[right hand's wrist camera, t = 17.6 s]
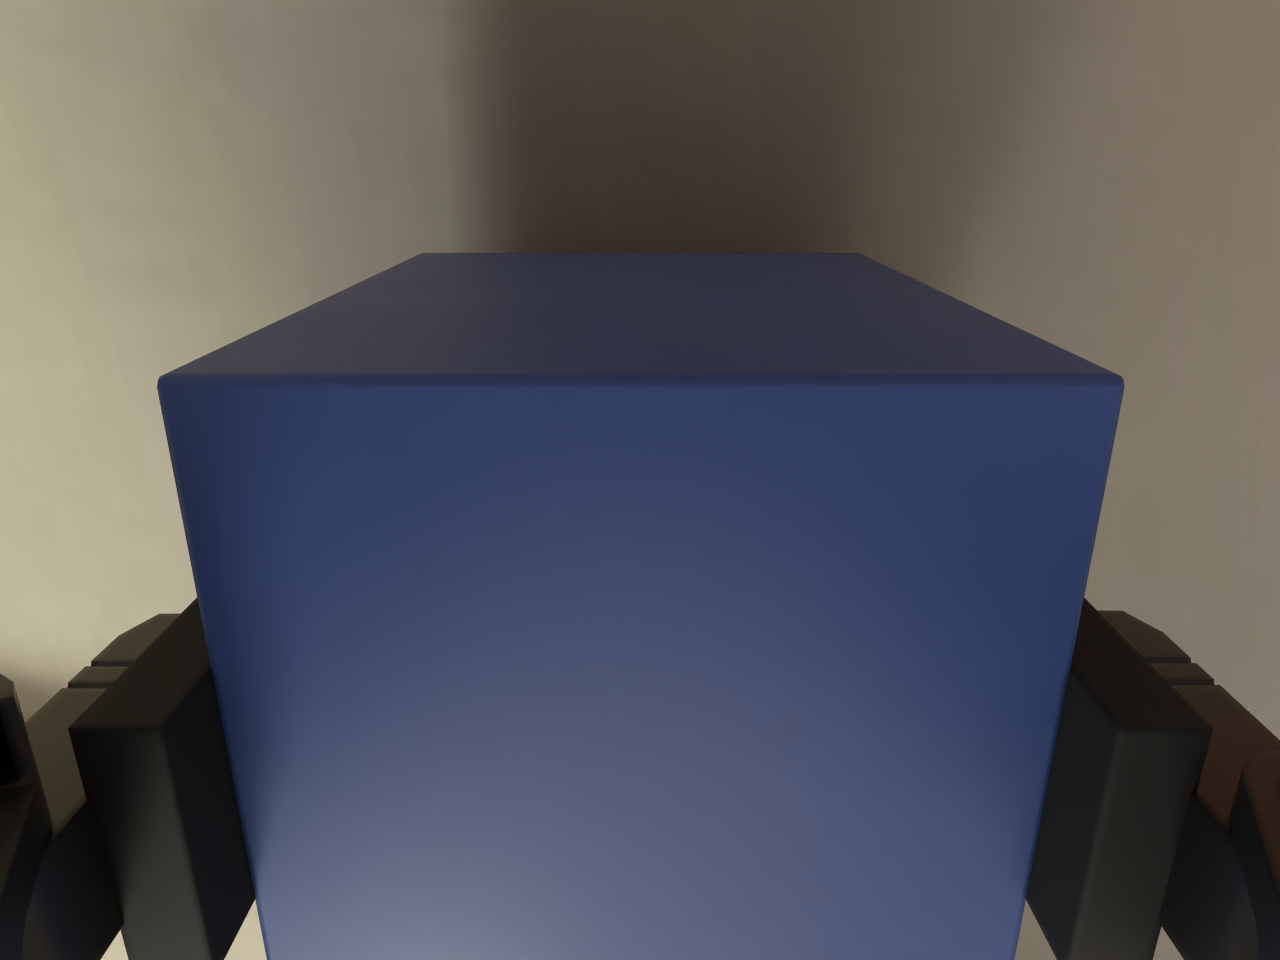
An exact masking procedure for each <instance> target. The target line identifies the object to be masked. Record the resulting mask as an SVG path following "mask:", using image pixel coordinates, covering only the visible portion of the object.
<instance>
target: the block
mask: <svg viewBox="0 0 1280 960" xmlns="http://www.w3.org/2000/svg"><path fill="white" fill-rule="evenodd" d="M157 389H158V394H159V399H160V404H161V410H162V415H163V420H164V425H165V430H166V436H167V441H168V446H169V451H170V456H171V462H172V467H173V472H174V477H175V483H176V488H177V493H178V498H179V503H180V509H181V514H182V519H183V524H184V529H185V535H186V540H187V545H188V550H189V555H190V561H191V566H192V571H193V576H194V582H195V587H196V592H197V597H198V602H199V608H200V613H201V618H202V623H203V628H204V634H205V639H206V644H207V649H208V654H209V660H210V665H211V670H212V675H213V681H214V686H215V691H216V696H217V701H218V707H219V712H220V717H221V722H222V727H223V733H224V738H225V743H226V748H227V753H228V759H229V764H230V769H231V774H232V780H233V785H234V790H235V795H236V800H237V806H238V811H239V816H240V821H241V826H242V832H243V837H244V842H245V847H246V852H247V858H248V863H249V868H250V873H251V879H252V884H253V889H254V894H255V899H256V905H257V910H258V915H259V920H260V925H261V931H262V936H263V941H264V946H265V951H266V957H267V960H1014V958H1015V952H1016V947H1017V942H1018V937H1019V932H1020V926H1021V921H1022V916H1023V911H1024V906H1025V900H1026V895H1027V890H1028V885H1029V880H1030V874H1031V869H1032V864H1033V859H1034V854H1035V848H1036V843H1037V838H1038V833H1039V828H1040V822H1041V817H1042V812H1043V807H1044V802H1045V796H1046V791H1047V786H1048V781H1049V776H1050V770H1051V765H1052V760H1053V755H1054V750H1055V744H1056V739H1057V734H1058V729H1059V724H1060V718H1061V713H1062V708H1063V703H1064V698H1065V693H1066V687H1067V682H1068V677H1069V672H1070V667H1071V661H1072V656H1073V651H1074V646H1075V641H1076V635H1077V630H1078V625H1079V620H1080V615H1081V609H1082V604H1083V599H1084V594H1085V589H1086V583H1087V578H1088V573H1089V568H1090V563H1091V557H1092V552H1093V547H1094V542H1095V537H1096V532H1097V526H1098V521H1099V516H1100V511H1101V506H1102V500H1103V495H1104V490H1105V485H1106V480H1107V474H1108V469H1109V464H1110V459H1111V454H1112V448H1113V443H1114V438H1115V433H1116V428H1117V422H1118V417H1119V412H1120V407H1121V402H1122V396H1123V391H1124V381H1123V378H1122V377H1121V376H1119V375H1117V374H1115V373H1113V372H1111V371H1109V370H1106V369H1104V368H1102V367H1100V366H1098V365H1096V364H1094V363H1092V362H1089V361H1087V360H1085V359H1083V358H1081V357H1079V356H1077V355H1074V354H1072V353H1070V352H1068V351H1066V350H1064V349H1062V348H1060V347H1057V346H1055V345H1053V344H1051V343H1049V342H1047V341H1045V340H1043V339H1040V338H1038V337H1036V336H1034V335H1032V334H1030V333H1028V332H1025V331H1023V330H1021V329H1019V328H1017V327H1015V326H1013V325H1011V324H1008V323H1006V322H1004V321H1002V320H1000V319H998V318H996V317H993V316H991V315H989V314H987V313H985V312H983V311H981V310H979V309H976V308H974V307H972V306H970V305H968V304H966V303H964V302H961V301H959V300H957V299H955V298H953V297H951V296H949V295H947V294H944V293H942V292H940V291H938V290H936V289H934V288H932V287H930V286H927V285H925V284H923V283H921V282H919V281H917V280H915V279H912V278H910V277H908V276H906V275H904V274H902V273H900V272H898V271H895V270H893V269H891V268H889V267H887V266H885V265H883V264H880V263H878V262H876V261H874V260H872V259H870V258H868V257H866V256H863V255H861V254H859V253H422V254H419V255H417V256H415V257H413V258H411V259H409V260H407V261H405V262H402V263H400V264H398V265H396V266H394V267H392V268H390V269H388V270H385V271H383V272H381V273H379V274H377V275H375V276H373V277H371V278H368V279H366V280H364V281H362V282H360V283H358V284H356V285H354V286H351V287H349V288H347V289H345V290H343V291H341V292H339V293H337V294H334V295H332V296H330V297H328V298H326V299H324V300H322V301H320V302H317V303H315V304H313V305H311V306H309V307H307V308H305V309H303V310H300V311H298V312H296V313H294V314H292V315H290V316H288V317H286V318H283V319H281V320H279V321H277V322H275V323H273V324H271V325H269V326H266V327H264V328H262V329H260V330H258V331H256V332H254V333H252V334H249V335H247V336H245V337H243V338H241V339H239V340H237V341H235V342H232V343H230V344H228V345H226V346H224V347H222V348H220V349H218V350H215V351H213V352H211V353H209V354H207V355H205V356H203V357H201V358H198V359H196V360H194V361H192V362H190V363H188V364H186V365H184V366H181V367H179V368H177V369H175V370H173V371H171V372H169V373H167V374H164V375H162V376H160V377H159V379H158V385H157Z"/></svg>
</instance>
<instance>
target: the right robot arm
mask: <svg viewBox="0 0 1280 960" xmlns="http://www.w3.org/2000/svg"><path fill="white" fill-rule="evenodd" d="M254 900H255V894H254V889H253V884H252V879H251V873H250V868H249V863H248V858H247V852H246V847H245V842H244V837H243V832H242V826H241V821H240V816H239V811H238V806H237V800H236V795H235V790H234V785H233V780H232V774H231V769H230V764H229V759H228V753H227V748H226V743H225V738H224V733H223V727H222V722H221V717H220V712H219V707H218V701H217V696H216V691H215V686H214V681H213V675H212V670H211V665H210V660H209V654H208V649H207V644H206V639H205V634H204V628H203V623H202V618H201V613H200V608H199V602H198V597H197V598H196V599H195V600H194V601H193V602H192V603H191V604H190V605H189V606H188V607H187V608H186V609H185V610H184V611H183V612H182V613H181V614H158V615H156V616H154V617H153V618H151V619H149V620H147V621H145V622H143V623H141V624H140V625H138V626H136V627H134V628H132V629H130V630H128V631H127V632H125V633H123V634H121V635H119V636H118V637H117V638H116V639H115V640H114V641H113V642H112V643H110V644H109V645H108V646H107V647H106V648H105V649H104V650H103V651H102V652H101V653H100V654H99V655H98V656H96V657H95V658H94V659H93V660H92V661H91V666H86V667H85V668H84V669H83V670H81V671H80V672H79V673H78V674H77V675H76V676H75V677H74V678H73V679H72V680H71V681H70V682H69V683H68V688H62V689H61V690H60V691H59V692H58V693H57V694H56V695H55V696H54V697H52V698H51V699H50V700H49V701H48V702H47V703H46V704H45V705H44V706H43V707H42V708H41V709H40V710H39V711H37V712H36V713H35V714H34V715H33V716H32V717H31V718H30V719H29V720H28V721H27V722H26V723H24V719H23V716H22V712H21V709H20V705H19V701H18V698H17V694H16V691H15V687H14V684H13V682H12V681H11V680H9V679H8V678H6V677H4V676H3V675H1V674H0V960H100V959H101V958H102V956H103V955H104V953H105V952H106V950H107V949H108V947H109V946H110V944H111V943H112V941H113V940H114V938H115V937H116V935H117V934H118V932H119V931H120V929H121V933H122V936H123V940H124V944H125V948H126V952H127V955H128V959H129V960H224V958H225V956H226V955H227V953H228V951H229V949H230V947H231V945H232V943H233V941H234V939H235V937H236V935H237V933H238V931H239V929H240V927H241V925H242V923H243V921H244V920H245V918H246V916H247V914H248V912H249V910H250V908H251V906H252V904H253V902H254ZM1026 900H1027V902H1028V904H1029V906H1030V908H1031V910H1032V912H1033V914H1034V916H1035V918H1036V920H1037V921H1038V923H1039V925H1040V927H1041V929H1042V931H1043V933H1044V935H1045V937H1046V939H1047V941H1048V943H1049V945H1050V947H1051V949H1052V951H1053V953H1054V955H1055V956H1056V958H1057V960H1153V956H1154V952H1155V948H1156V945H1157V941H1158V937H1159V933H1160V929H1161V926H1162V927H1163V929H1164V930H1165V932H1166V933H1167V935H1168V936H1169V938H1170V939H1171V941H1172V942H1173V944H1174V945H1175V947H1176V948H1177V950H1178V951H1179V953H1180V954H1181V956H1182V957H1183V959H1184V960H1280V740H1279V739H1278V738H1277V737H1276V736H1274V735H1273V734H1272V733H1271V732H1270V731H1269V730H1268V729H1267V728H1266V727H1265V726H1264V725H1263V724H1261V723H1260V722H1259V721H1258V720H1257V719H1256V718H1255V717H1254V716H1253V715H1252V714H1251V713H1250V712H1248V711H1247V710H1246V709H1245V708H1244V707H1243V706H1242V705H1241V704H1240V703H1239V702H1238V701H1237V700H1235V699H1234V698H1233V697H1232V696H1231V695H1230V694H1229V693H1228V692H1227V691H1226V690H1225V689H1224V688H1222V687H1221V686H1220V685H1214V679H1213V678H1212V677H1211V676H1209V675H1208V674H1207V673H1206V672H1205V671H1204V670H1203V669H1202V668H1201V667H1200V666H1199V665H1198V664H1196V663H1191V658H1190V657H1189V656H1188V655H1187V654H1186V653H1185V652H1183V651H1182V650H1181V649H1180V648H1179V647H1178V646H1177V645H1176V644H1175V643H1174V642H1173V641H1172V640H1170V639H1169V638H1168V637H1167V636H1166V635H1165V634H1164V633H1163V632H1161V631H1159V630H1157V629H1155V628H1153V627H1152V626H1150V625H1148V624H1146V623H1144V622H1142V621H1140V620H1138V619H1137V618H1135V617H1133V616H1131V615H1129V614H1127V613H1125V612H1123V611H1097V610H1096V609H1095V608H1094V607H1093V606H1092V605H1091V604H1090V603H1089V602H1088V601H1087V600H1086V599H1085V598H1084V599H1083V604H1082V609H1081V615H1080V620H1079V625H1078V630H1077V635H1076V641H1075V646H1074V651H1073V656H1072V661H1071V667H1070V672H1069V677H1068V682H1067V687H1066V693H1065V698H1064V703H1063V708H1062V713H1061V718H1060V724H1059V729H1058V734H1057V739H1056V744H1055V750H1054V755H1053V760H1052V765H1051V770H1050V776H1049V781H1048V786H1047V791H1046V796H1045V802H1044V807H1043V812H1042V817H1041V822H1040V828H1039V833H1038V838H1037V843H1036V848H1035V854H1034V859H1033V864H1032V869H1031V874H1030V880H1029V885H1028V890H1027V895H1026Z"/></svg>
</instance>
